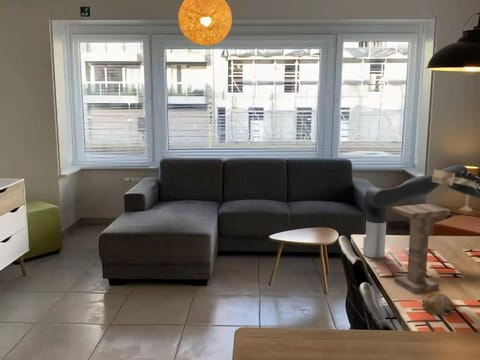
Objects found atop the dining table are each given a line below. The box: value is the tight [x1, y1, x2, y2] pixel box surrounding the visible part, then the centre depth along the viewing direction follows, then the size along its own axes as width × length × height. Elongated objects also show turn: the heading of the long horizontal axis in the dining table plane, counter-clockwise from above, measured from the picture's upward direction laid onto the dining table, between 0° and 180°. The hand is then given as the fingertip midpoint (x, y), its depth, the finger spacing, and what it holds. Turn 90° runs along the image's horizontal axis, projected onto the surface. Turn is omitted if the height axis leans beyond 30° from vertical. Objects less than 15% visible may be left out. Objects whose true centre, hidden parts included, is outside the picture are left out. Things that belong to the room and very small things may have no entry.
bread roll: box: [421, 291, 454, 316], centre depth 169 cm, size 10×10×8 cm
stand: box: [391, 203, 451, 294], centre depth 189 cm, size 18×12×32 cm, turn 109°
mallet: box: [431, 168, 479, 188], centre depth 192 cm, size 24×5×5 cm, turn 109°
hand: (464, 173), depth 192 cm, fingers closed on mallet, 2 cm apart
